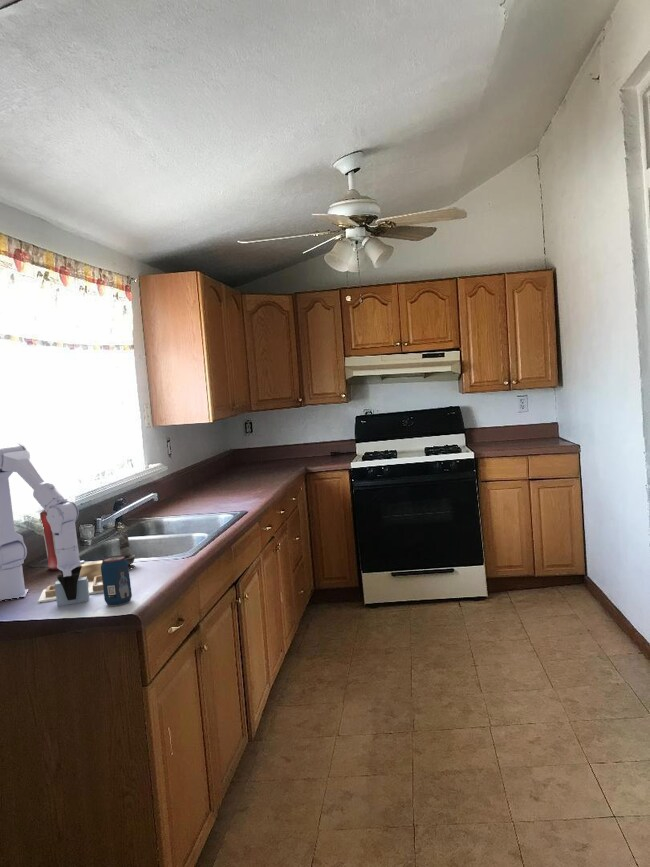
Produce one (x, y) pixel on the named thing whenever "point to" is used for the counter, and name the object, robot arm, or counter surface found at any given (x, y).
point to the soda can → (116, 580)
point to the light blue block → (81, 592)
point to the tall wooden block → (91, 570)
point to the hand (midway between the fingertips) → (72, 596)
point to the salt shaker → (126, 549)
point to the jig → (93, 588)
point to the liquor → (49, 542)
